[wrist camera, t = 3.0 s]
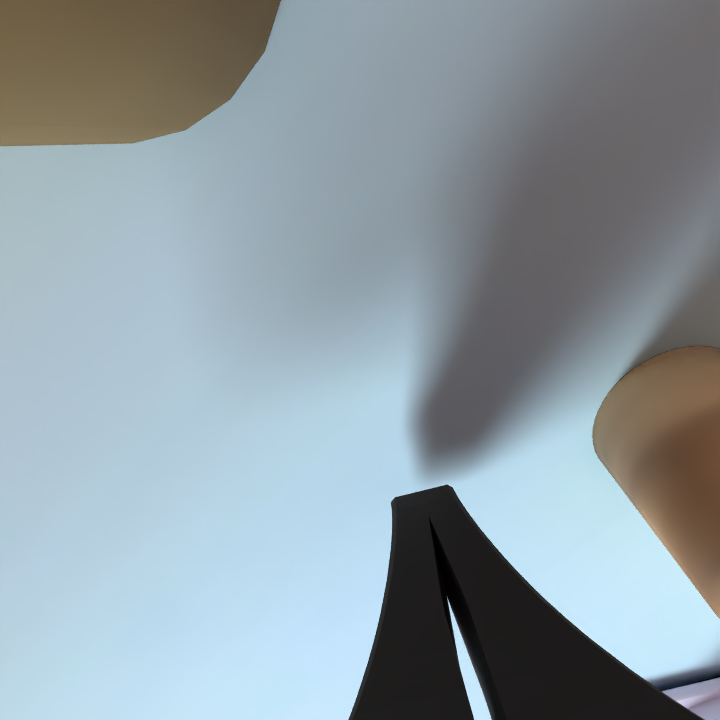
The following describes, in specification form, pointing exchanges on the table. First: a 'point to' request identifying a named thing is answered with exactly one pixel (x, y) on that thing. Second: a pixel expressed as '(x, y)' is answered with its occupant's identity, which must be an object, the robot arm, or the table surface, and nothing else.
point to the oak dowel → (670, 455)
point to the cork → (122, 66)
